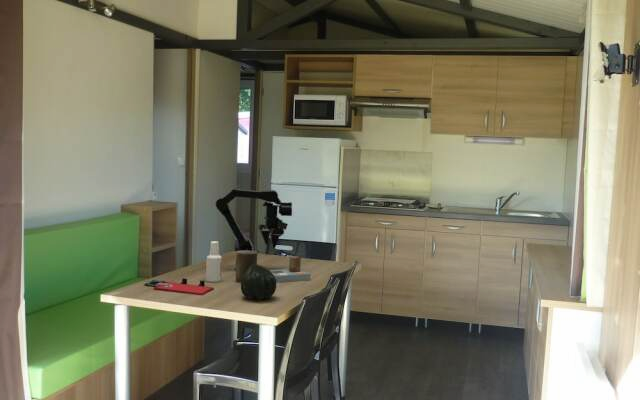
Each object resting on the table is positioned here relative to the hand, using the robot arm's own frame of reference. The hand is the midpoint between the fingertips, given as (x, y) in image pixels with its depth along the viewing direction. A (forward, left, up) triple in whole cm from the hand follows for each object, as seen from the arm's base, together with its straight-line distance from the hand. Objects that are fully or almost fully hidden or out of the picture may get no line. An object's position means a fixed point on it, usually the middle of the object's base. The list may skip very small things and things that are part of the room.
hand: (270, 246), depth 297 cm
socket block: (+2, -17, -13) cm, 21 cm away
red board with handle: (-52, -20, -14) cm, 57 cm away
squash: (-26, -47, -13) cm, 55 cm away
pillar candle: (-19, -16, -13) cm, 28 cm away
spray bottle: (-33, -11, -13) cm, 37 cm away
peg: (+6, -15, -13) cm, 21 cm away
